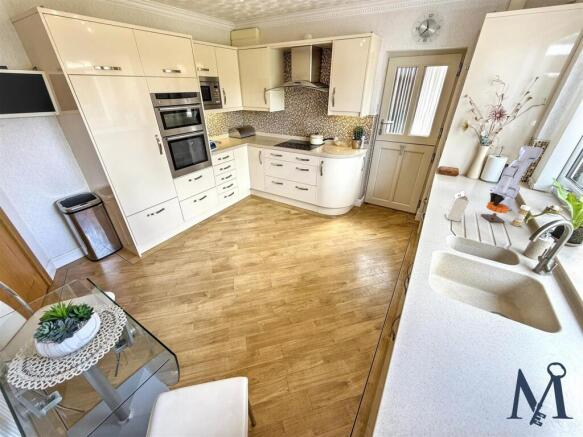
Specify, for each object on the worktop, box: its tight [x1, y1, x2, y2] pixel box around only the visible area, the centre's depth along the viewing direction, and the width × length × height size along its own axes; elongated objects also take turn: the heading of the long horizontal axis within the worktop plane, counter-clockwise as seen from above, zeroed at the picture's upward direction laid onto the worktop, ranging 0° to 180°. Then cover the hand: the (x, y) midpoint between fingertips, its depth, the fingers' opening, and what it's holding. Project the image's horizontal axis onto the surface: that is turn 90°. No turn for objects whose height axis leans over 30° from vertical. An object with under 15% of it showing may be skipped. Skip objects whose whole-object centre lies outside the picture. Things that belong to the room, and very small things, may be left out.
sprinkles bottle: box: [510, 204, 532, 227], centre depth 147 cm, size 5×5×13 cm
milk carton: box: [445, 189, 470, 223], centre depth 149 cm, size 7×7×19 cm
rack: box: [480, 212, 506, 224], centre depth 154 cm, size 9×9×4 cm
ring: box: [486, 201, 510, 214], centre depth 152 cm, size 11×11×3 cm
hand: (493, 204), depth 156 cm, fingers closed on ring, 3 cm apart
